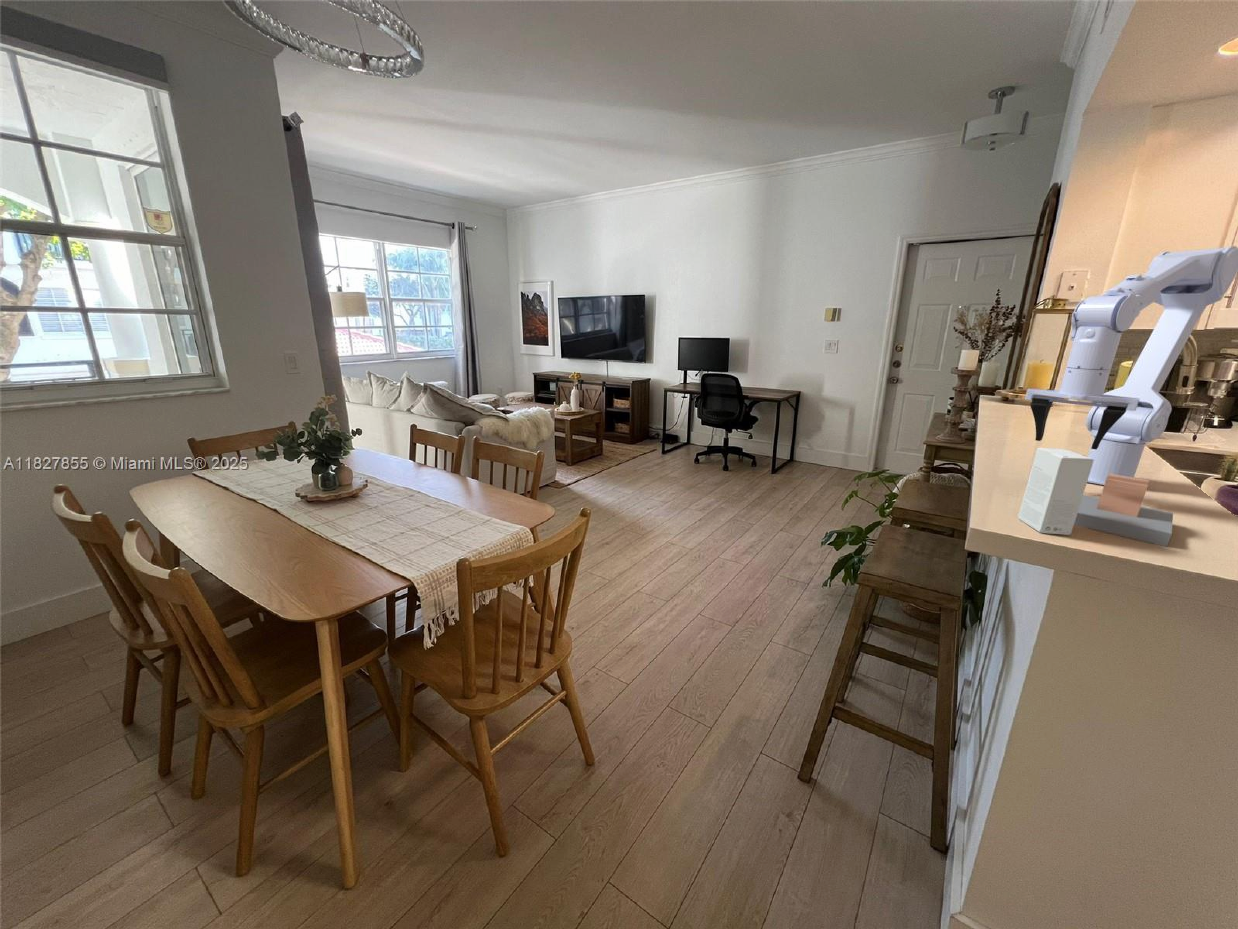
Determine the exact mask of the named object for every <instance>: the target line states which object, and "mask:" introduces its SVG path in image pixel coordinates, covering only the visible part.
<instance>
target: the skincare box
mask: <svg viewBox="0 0 1238 929" xmlns="http://www.w3.org/2000/svg"><path fill="white" fill-rule="evenodd" d="M1093 461H1094V459H1091V458H1088V456H1085V455H1082V454H1080V453H1077V452H1074V451H1071V450H1068V449H1062V448H1049V447H1048V448H1047V447H1037V448H1036V452H1035V455H1034V458H1033V462H1032V466H1031V470H1030V473H1029V477H1028V480H1027V483H1026V487H1025V491H1024V494H1023V497H1022V502H1021V505H1020V509H1019V512H1018V517H1017V519H1018V520H1020V521H1022V522H1023V523H1025V524H1026V525H1027V526H1029V527H1031V528H1032V529H1034V530H1036V532H1039V533H1040V534H1050V535H1051V534H1052V535H1063V536H1071V535H1072V532H1073V528H1074V522H1075V519H1076V516H1077V513H1078V510H1079V506H1080V503H1081V500H1082V497H1083V495H1085V494H1084V493H1085V490H1086V486H1087V483H1088V482H1087V481H1088V477H1089V474H1090V471H1091V468H1092V465H1093Z"/></svg>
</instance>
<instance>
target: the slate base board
mask: <svg viewBox="0 0 1238 929" xmlns="http://www.w3.org/2000/svg"><path fill="white" fill-rule="evenodd" d="M1099 500H1100V498H1099V497H1096V496H1090V495H1086V494H1083V497H1082V500H1081V503H1080V506H1079V510H1078V513H1077V516H1076V519H1075V522H1074V525H1075V526H1077V527H1083V528H1086V529H1092V530H1096V531H1101V532H1104V533H1108V534H1112V535H1116V536H1117V535H1118V536H1120V537H1126V538H1130V539H1133V540H1137V541H1143V542H1146V543H1150V544H1155V545H1159V546H1162V547H1168V544H1169V541H1170V539H1171V536H1172V534H1173V532H1172V531H1173V521H1174V520H1173V517H1174V513H1173V512H1170V511H1166V510H1165V511H1164V510H1161V509H1160V510H1159V509H1155V508H1150V507H1145V506H1141V507H1140V510H1139V512H1138V515H1137V517H1134V516H1129V515H1124V514H1119V513H1115V512H1110V511H1105V510H1101V509H1097V506H1098V503H1099Z"/></svg>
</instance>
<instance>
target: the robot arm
mask: <svg viewBox="0 0 1238 929" xmlns="http://www.w3.org/2000/svg"><path fill="white" fill-rule="evenodd" d="M1237 274H1238V247H1237V245H1229V246H1227V247H1217V248H1206V249H1205V248H1204V249H1195V250H1184V251H1183V250H1181V251H1171V252H1170V251H1163V252H1161V253H1159V254H1158V255H1156V256H1155V257H1154V258H1153V260H1152V261H1151V263H1150V264H1149V267H1148V270H1147V272H1145V273H1144V274H1138V273H1137V274H1130V275H1128V276H1126V277H1125V279H1124V280H1123V281H1121V282H1120V283H1118V284H1116V285H1115V286H1114V287H1111V288H1110V289H1108V290H1107V291H1105V292H1104V293H1102V294H1101V295H1093V296H1088V297H1087V298H1086V299H1083V300H1081V301H1080V302H1079V303H1078V304H1077V305H1076V306H1075V308H1074V311H1073V312H1072V315H1071V318H1070V319H1071V320H1070V322H1071V333H1070V340H1071V341H1073V342H1072V344H1071V348H1070V351H1069V352H1070V353H1069V355H1068V359H1067V362H1066V365H1065V366H1066V367H1065V369H1064V373H1063V378H1062V381H1061V384H1060V388H1059V390H1056V389H1055V390H1052V389H1039V388H1028V389H1027V390H1026V393H1025V397H1024V400H1027V401H1031V402H1030V410H1031V411H1032V415H1033V420H1034V423H1035V424H1034V425H1035V439H1034V440H1035V441H1037V442H1041V441H1042V440H1043V437H1044V434H1045V429H1046V425H1047V424H1046V423H1047V420H1048V416H1049V413H1050V410H1051V407H1052V404H1053V403H1058V404H1070V405H1078V406H1090V407H1091V409H1090V410H1089V412H1088V414H1087V416H1086V418H1085V426H1086V429H1087V430H1088V431H1089V432H1090V435H1089V436H1091V437H1093V439H1092V441H1091V445H1090V447H1089V451H1088V453H1087V454H1088V455H1087V457H1088V458H1091V459H1094V461H1093V465H1092V468H1091V471H1090V474H1089V477H1088V481H1087V483H1090V484H1094V485H1095V484H1096V485H1101V486H1104V485H1105V482H1106V479H1107V477H1108V475H1109V474H1114V475H1120V476H1126V477H1131V478H1135V475H1136V472H1137V470H1138V466H1139V464H1140V460H1141V458H1142V455H1143V453H1144V449H1145V446H1146V444H1147V443H1152V442H1154V441H1155V440H1157V439H1158V438H1160V437H1161V436H1162V434H1163V433H1164V431H1165V430H1166V428H1167V425H1168V422H1169V417H1170V415H1171V413H1172V410H1173V408H1172V405H1171V402H1170V401H1169V400H1168V399H1167V398H1165V397H1164V396H1163V395H1162V394H1161V393H1160V391H1161V389H1162V388H1163V385H1164V383H1165V381H1166V380H1167V378H1168V376H1169V375H1170V372H1171V370H1172V368H1173V367H1174V365H1175V363H1176V361H1177V360H1178V358H1179V356H1180V354H1181V352H1182V350H1183V349H1184V347H1185V345H1186V343H1187V341H1188V339H1189V338H1190V336H1191V334H1192V333H1193V330H1194V329H1195V327H1196V325H1197V323H1198V322H1199V319H1200V318H1201V316H1202V315H1203V313H1204V311H1205V310H1206V309H1207V307H1208V306H1210V305H1213V304H1215V303H1217V302H1220V301H1222V299H1223V298H1224V295H1225V294H1227V292H1228V290H1229V289H1230V287H1231V285H1232V283H1233V282H1234V279H1235V278H1236V276H1237ZM1153 303H1155V304H1158V305H1160V306H1162V307H1163V308H1164V310H1163V311H1162V314H1161V315H1160V317H1159V319H1158V321H1157V323H1156V325H1155V327H1154V328H1153V330H1152V332H1151V334H1150V335H1149V338H1148V340H1147V342H1146V344H1145V346H1144V347H1143V349H1142V351H1141V353H1140V354H1139V356H1138V358H1137V360H1136V362H1135V364H1134V365H1133V368H1132V370H1131V371H1130V374H1128V377H1127V379H1126V381H1125V383H1124V384H1123V386H1120V387H1118V388H1115V389H1112V390H1109V391H1106V386H1107V383H1108V381H1109V377H1110V374H1111V369H1112V368H1113V363H1114V360H1115V357H1116V354H1117V351H1118V348H1119V344H1120V341H1121V338H1122V335H1123V332H1124V331H1125V332H1126V331H1128V330H1129V329H1130V328H1131V326H1132V325H1133V323H1134V321H1135V320H1136V318H1138V317H1139V315H1141V314H1140V313H1141V311H1143V310H1145V309H1146V308H1148V307H1149V306H1150V305H1151V304H1153ZM1105 391H1106V392H1105Z"/></svg>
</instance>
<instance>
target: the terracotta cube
mask: <svg viewBox="0 0 1238 929" xmlns="http://www.w3.org/2000/svg"><path fill="white" fill-rule="evenodd" d="M1149 483H1150V480H1148V479H1142V478H1137V477H1134V478H1131V477H1126V476H1120V475H1114V474H1109V475H1108V477H1107V479H1106V482H1105V485H1103V489H1102V491H1101V493H1100V494H1101V495H1100V500H1099V503H1098V506H1097V509H1101V510H1105V511H1110V512H1115V513H1119V514H1124V515H1129V516H1134V517H1137V515H1138V512H1139V510H1140V507H1142V504H1143V502H1144V498H1145V495H1146V493H1147V490H1148V487H1149Z"/></svg>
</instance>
